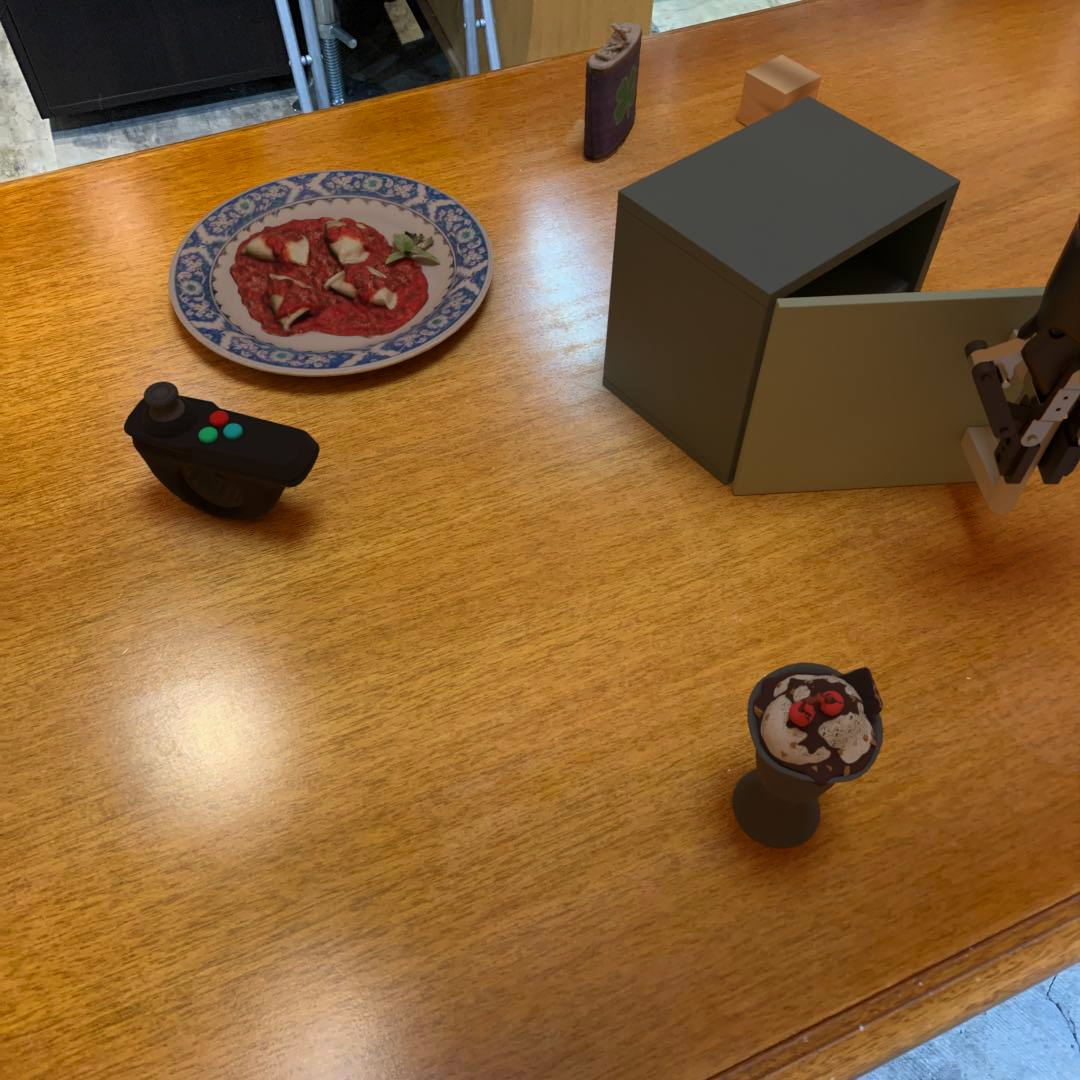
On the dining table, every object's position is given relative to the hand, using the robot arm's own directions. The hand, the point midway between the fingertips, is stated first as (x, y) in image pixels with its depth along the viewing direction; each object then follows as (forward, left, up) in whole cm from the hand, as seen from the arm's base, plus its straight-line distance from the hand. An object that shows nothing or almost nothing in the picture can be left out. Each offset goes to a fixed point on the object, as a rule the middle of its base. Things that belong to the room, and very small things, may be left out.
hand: (1027, 472), depth 66 cm
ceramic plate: (+18, -51, -9) cm, 54 cm away
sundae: (+24, +3, -9) cm, 26 cm away
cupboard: (0, -22, -9) cm, 23 cm away
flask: (-14, -53, -9) cm, 55 cm away
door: (+3, -7, -8) cm, 11 cm away
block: (-28, -45, -9) cm, 53 cm away
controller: (+36, -35, -9) cm, 51 cm away
